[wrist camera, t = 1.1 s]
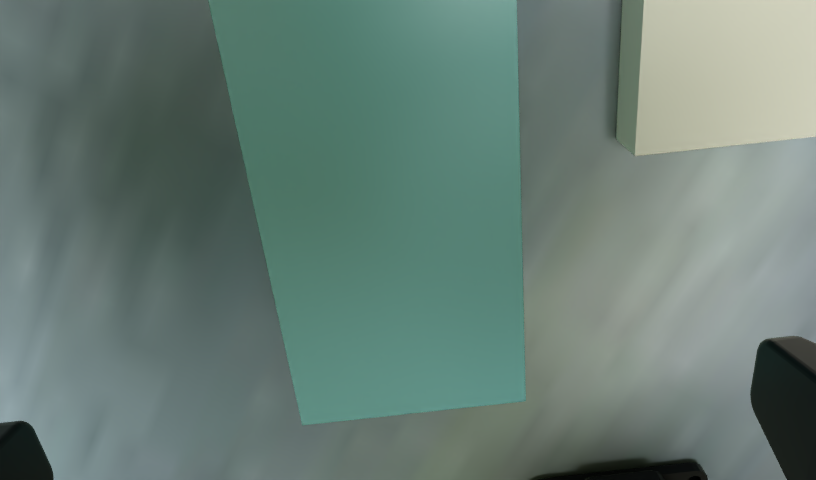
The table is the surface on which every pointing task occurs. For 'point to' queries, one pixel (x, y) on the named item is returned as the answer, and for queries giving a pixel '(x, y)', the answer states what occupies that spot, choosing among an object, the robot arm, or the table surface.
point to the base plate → (715, 73)
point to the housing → (385, 196)
